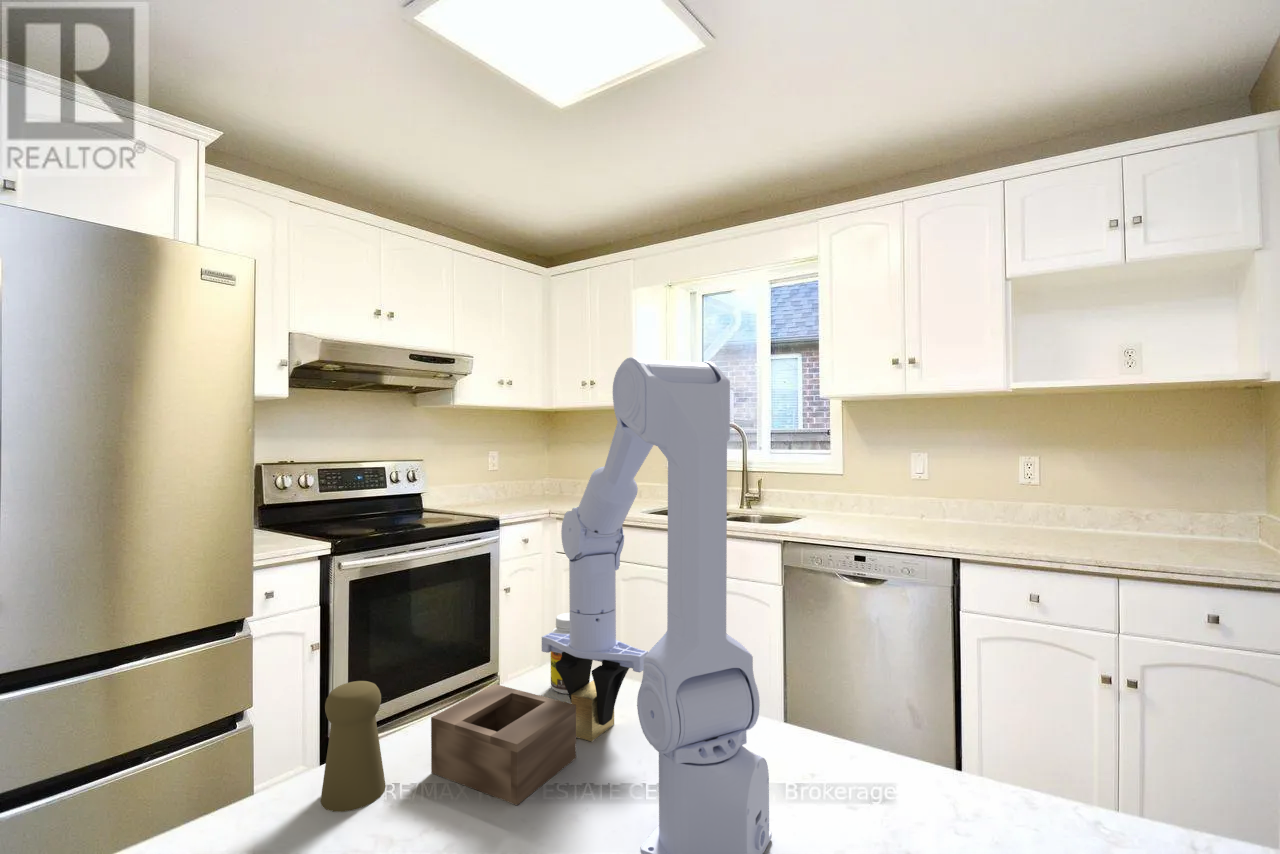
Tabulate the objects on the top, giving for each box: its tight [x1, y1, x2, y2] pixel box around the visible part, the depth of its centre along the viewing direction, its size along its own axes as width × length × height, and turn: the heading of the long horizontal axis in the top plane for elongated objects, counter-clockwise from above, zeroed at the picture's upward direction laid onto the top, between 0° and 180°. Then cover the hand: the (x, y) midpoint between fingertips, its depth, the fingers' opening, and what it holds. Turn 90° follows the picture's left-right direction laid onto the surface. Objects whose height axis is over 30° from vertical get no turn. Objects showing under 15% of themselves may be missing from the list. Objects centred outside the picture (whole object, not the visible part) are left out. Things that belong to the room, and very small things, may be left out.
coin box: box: [430, 683, 577, 806], centre depth 68 cm, size 12×10×6 cm
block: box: [570, 680, 615, 742], centre depth 76 cm, size 3×5×5 cm, turn 151°
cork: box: [320, 680, 387, 813], centre depth 63 cm, size 6×6×11 cm
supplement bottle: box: [550, 612, 570, 695], centre depth 89 cm, size 6×6×10 cm
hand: (593, 718), depth 76 cm, fingers closed on block, 3 cm apart
